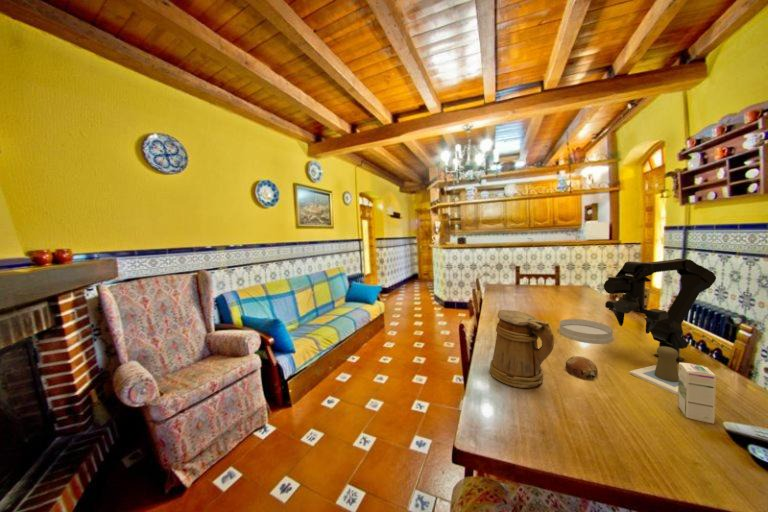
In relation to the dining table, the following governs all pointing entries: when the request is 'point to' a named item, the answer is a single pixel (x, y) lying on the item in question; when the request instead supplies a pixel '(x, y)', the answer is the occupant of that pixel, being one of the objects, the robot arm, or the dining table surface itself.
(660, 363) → the cork
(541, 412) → the dining table surface
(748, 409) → the dining table surface
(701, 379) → the syrup box
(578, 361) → the bread roll
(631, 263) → the robot arm
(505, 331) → the tankard
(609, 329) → the dish
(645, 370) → the plate
